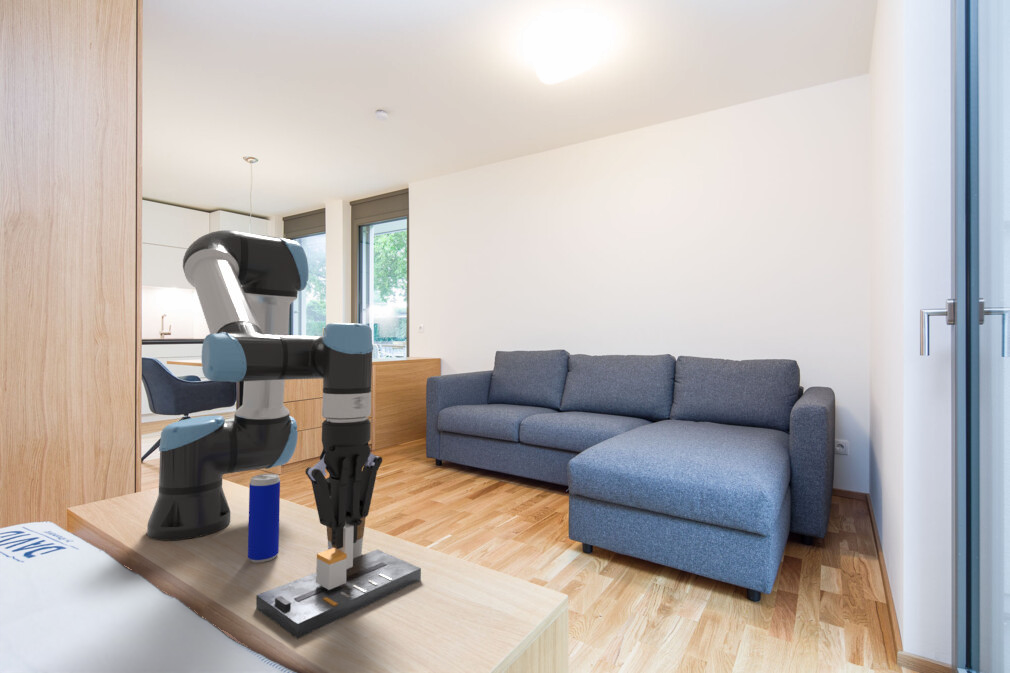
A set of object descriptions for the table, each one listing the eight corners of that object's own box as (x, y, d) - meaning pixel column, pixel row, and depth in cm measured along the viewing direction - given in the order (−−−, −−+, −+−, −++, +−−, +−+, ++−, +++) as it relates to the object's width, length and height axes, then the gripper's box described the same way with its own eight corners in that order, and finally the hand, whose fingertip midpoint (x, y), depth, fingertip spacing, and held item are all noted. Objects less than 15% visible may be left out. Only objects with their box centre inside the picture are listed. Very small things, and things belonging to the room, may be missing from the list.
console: (256, 608, 74) (256, 589, 74) (377, 560, 91) (377, 544, 91) (297, 638, 66) (297, 617, 66) (420, 580, 83) (420, 563, 84)
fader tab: (316, 582, 77) (316, 553, 77) (333, 575, 79) (333, 547, 79) (328, 590, 75) (329, 560, 75) (346, 582, 77) (346, 553, 77)
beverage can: (284, 555, 93) (286, 475, 93) (260, 565, 88) (262, 481, 88) (265, 549, 95) (267, 472, 95) (241, 560, 90) (243, 478, 91)
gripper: (322, 425, 72) (319, 588, 71) (393, 416, 82) (391, 559, 82) (296, 420, 76) (292, 573, 76) (366, 412, 87) (364, 547, 86)
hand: (343, 565), depth 79 cm, fingers closed
